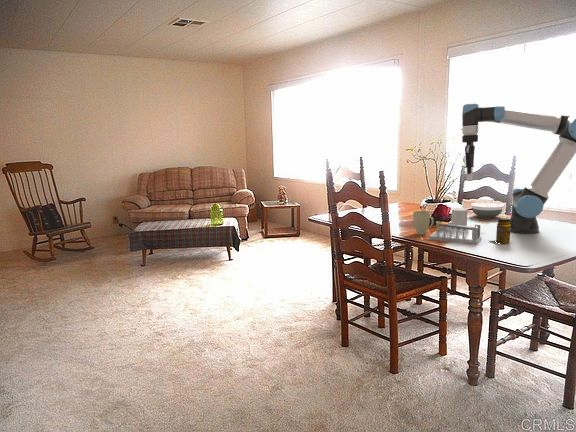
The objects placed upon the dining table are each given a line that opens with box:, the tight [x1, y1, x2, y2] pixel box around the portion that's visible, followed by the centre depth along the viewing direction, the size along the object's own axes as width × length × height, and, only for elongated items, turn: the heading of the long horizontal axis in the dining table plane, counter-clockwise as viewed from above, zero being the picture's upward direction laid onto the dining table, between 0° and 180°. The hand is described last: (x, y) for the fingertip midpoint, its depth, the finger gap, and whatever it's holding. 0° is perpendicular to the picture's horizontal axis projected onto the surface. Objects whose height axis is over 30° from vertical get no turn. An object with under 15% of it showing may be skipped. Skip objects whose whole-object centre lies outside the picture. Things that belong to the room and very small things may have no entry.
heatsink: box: [428, 221, 483, 245], centre depth 212 cm, size 23×12×8 cm, turn 55°
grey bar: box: [439, 221, 481, 231], centre depth 211 cm, size 19×4×2 cm, turn 55°
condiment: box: [488, 217, 513, 246], centre depth 202 cm, size 7×8×12 cm
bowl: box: [470, 201, 505, 220], centre depth 260 cm, size 19×19×8 cm
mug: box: [412, 210, 435, 235], centre depth 226 cm, size 11×10×12 cm
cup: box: [450, 207, 468, 233], centre depth 230 cm, size 8×8×12 cm
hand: (469, 179), depth 218 cm, fingers closed
